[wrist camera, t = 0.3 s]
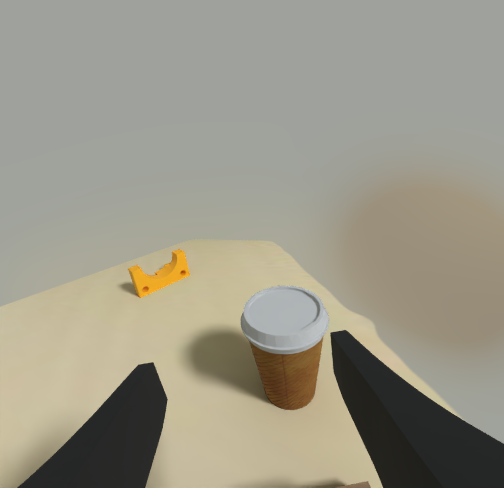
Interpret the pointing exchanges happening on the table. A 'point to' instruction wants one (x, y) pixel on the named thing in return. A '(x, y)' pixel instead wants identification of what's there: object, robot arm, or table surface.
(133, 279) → the pipe clamp
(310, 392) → the disposable coffee cup
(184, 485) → the table surface
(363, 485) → the guide rail
